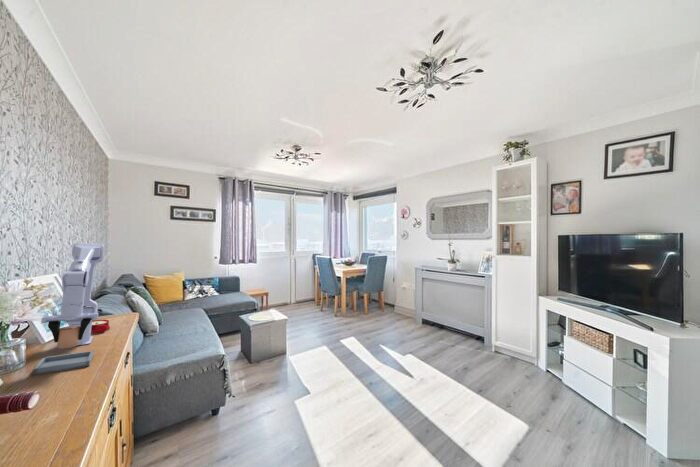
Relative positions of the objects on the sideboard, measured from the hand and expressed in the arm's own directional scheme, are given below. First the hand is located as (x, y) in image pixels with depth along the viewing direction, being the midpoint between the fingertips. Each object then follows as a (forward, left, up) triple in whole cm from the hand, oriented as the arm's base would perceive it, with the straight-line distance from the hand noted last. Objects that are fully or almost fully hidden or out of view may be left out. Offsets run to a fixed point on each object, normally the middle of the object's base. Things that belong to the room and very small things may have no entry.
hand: (68, 340), depth 98 cm
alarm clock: (-40, +4, -9) cm, 41 cm away
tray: (0, 0, -9) cm, 9 cm away
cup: (0, 0, -2) cm, 2 cm away
